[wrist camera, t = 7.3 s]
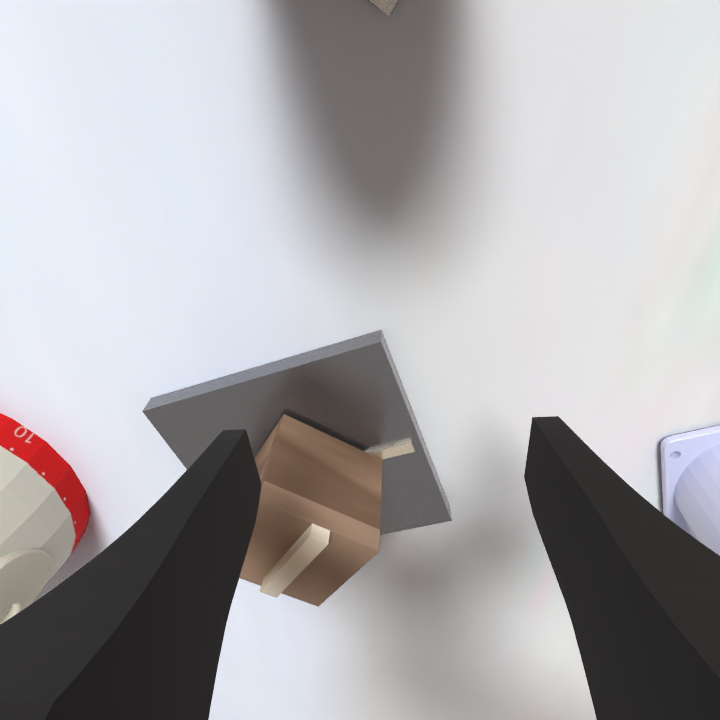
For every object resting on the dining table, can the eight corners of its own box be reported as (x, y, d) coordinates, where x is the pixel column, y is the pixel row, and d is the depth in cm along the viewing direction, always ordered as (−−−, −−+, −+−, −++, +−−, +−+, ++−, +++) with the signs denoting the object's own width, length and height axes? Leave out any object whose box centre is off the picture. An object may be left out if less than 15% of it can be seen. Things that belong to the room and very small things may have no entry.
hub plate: (449, 505, 27) (458, 570, 24) (259, 544, 30) (244, 608, 26) (381, 329, 21) (380, 383, 18) (150, 398, 24) (112, 456, 20)
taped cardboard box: (330, 516, 27) (316, 619, 22) (240, 478, 25) (205, 580, 21) (382, 460, 24) (378, 564, 19) (283, 413, 22) (255, 514, 18)
